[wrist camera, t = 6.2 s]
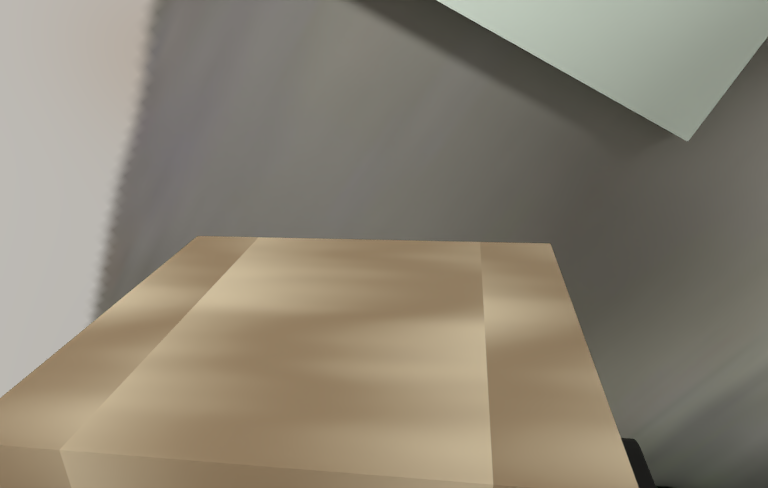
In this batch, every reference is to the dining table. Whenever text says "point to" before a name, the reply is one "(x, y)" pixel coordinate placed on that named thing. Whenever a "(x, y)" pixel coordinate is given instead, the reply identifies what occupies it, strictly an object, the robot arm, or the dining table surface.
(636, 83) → the post board
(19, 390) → the maple collar
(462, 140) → the dining table surface
